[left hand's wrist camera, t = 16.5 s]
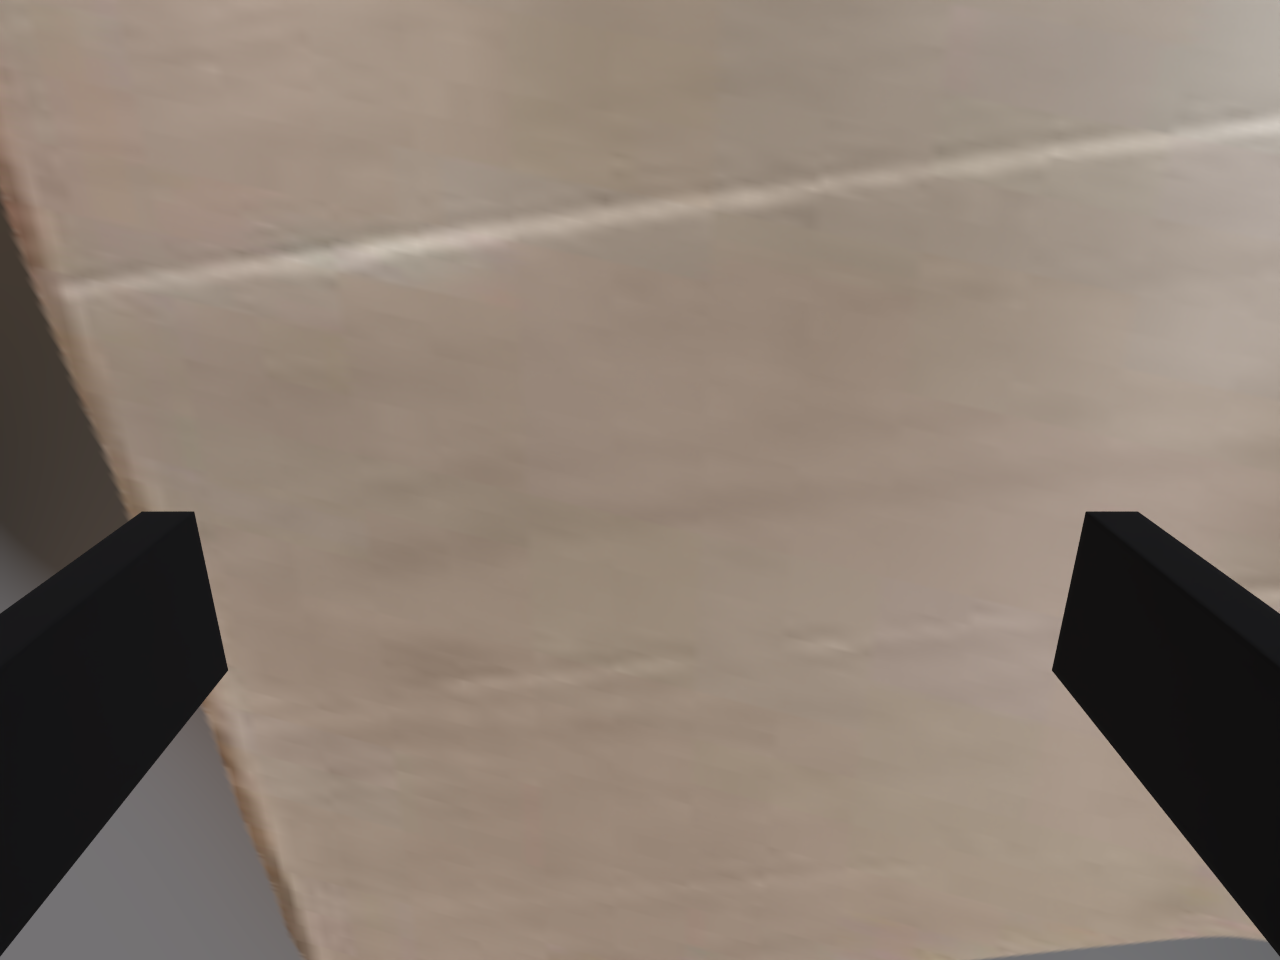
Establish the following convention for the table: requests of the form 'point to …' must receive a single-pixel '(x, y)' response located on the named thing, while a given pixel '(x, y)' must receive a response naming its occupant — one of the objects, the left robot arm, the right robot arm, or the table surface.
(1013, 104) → the table surface
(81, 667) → the left robot arm
